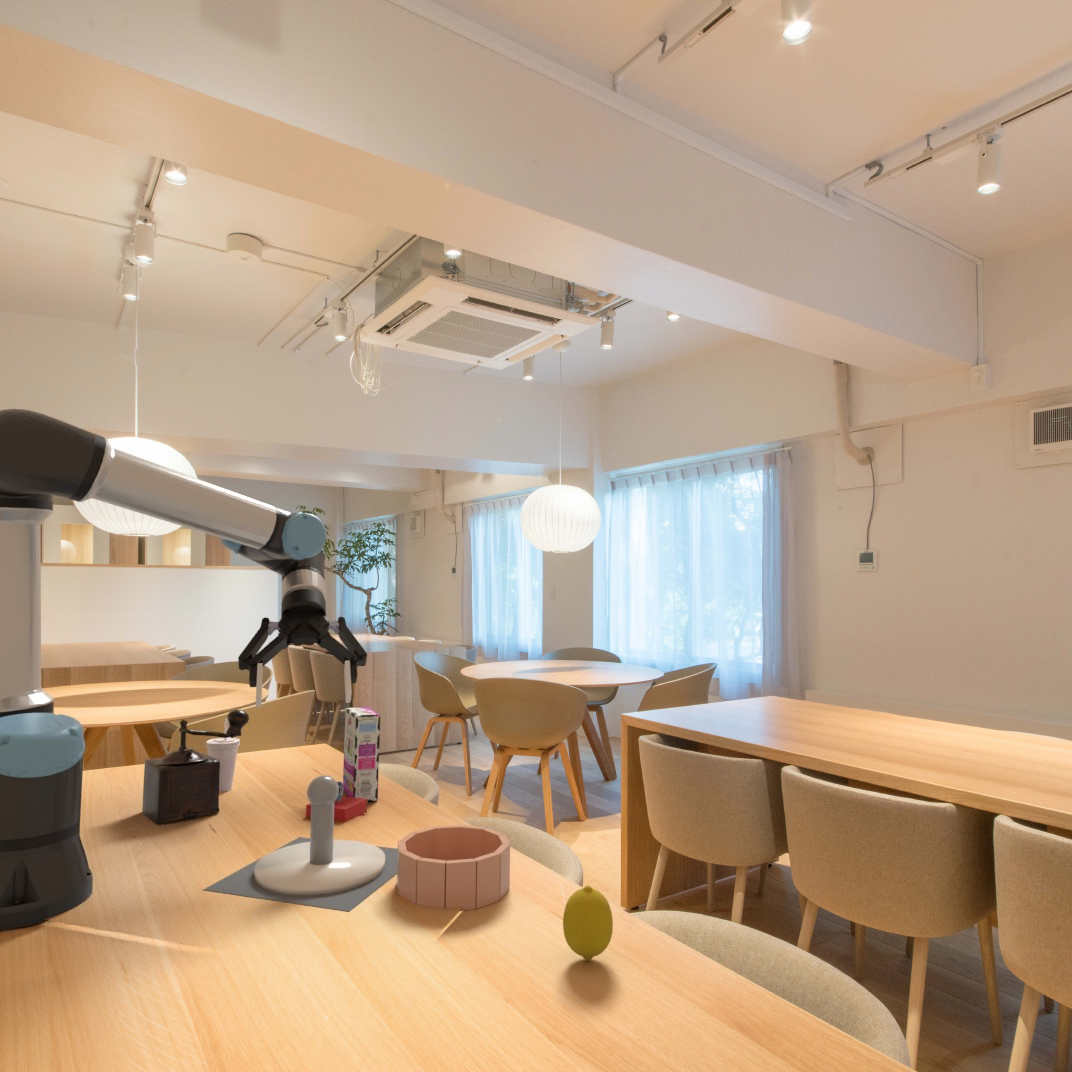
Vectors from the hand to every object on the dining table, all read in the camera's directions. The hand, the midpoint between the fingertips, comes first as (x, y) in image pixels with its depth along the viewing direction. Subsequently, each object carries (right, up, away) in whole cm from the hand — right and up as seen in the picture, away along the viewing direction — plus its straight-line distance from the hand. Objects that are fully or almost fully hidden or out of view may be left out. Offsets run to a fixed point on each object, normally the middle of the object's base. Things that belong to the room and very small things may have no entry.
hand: (304, 699), depth 119 cm
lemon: (+42, -21, -35) cm, 59 cm away
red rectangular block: (+1, -24, +15) cm, 29 cm away
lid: (+6, -22, -11) cm, 25 cm away
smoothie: (-26, -25, +32) cm, 48 cm away
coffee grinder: (-25, -24, +18) cm, 39 cm away
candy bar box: (+2, -25, +29) cm, 38 cm away
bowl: (+25, -22, -16) cm, 37 cm away
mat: (+6, -22, -11) cm, 26 cm away
